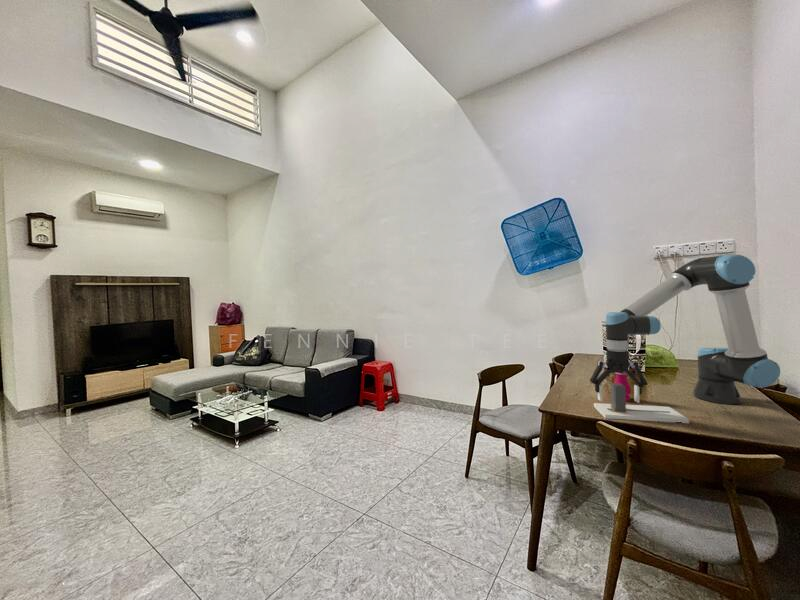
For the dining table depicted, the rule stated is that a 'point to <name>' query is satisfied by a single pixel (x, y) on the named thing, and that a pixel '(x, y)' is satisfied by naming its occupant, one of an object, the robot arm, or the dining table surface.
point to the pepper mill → (623, 383)
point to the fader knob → (618, 397)
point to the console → (641, 413)
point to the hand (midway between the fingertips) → (618, 400)
